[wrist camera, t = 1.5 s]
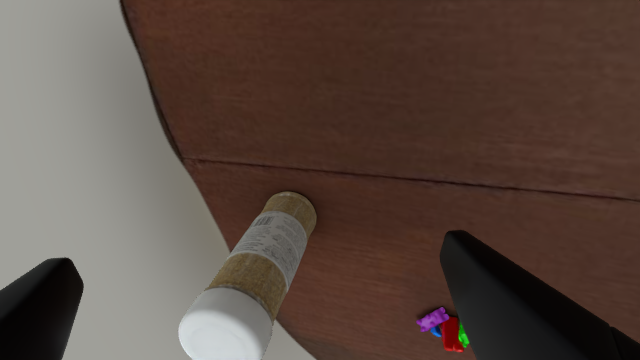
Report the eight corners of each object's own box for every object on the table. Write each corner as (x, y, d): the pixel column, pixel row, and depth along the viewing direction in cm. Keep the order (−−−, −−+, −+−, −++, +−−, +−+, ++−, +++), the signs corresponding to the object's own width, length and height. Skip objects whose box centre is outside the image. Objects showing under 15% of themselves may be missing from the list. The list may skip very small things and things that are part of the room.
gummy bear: (415, 325, 31) (417, 359, 28) (417, 302, 30) (418, 335, 27) (474, 331, 30) (483, 368, 27) (478, 308, 29) (488, 343, 26)
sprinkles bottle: (275, 238, 31) (194, 379, 19) (259, 192, 29) (160, 315, 17) (324, 233, 29) (271, 381, 17) (310, 185, 28) (242, 312, 16)
